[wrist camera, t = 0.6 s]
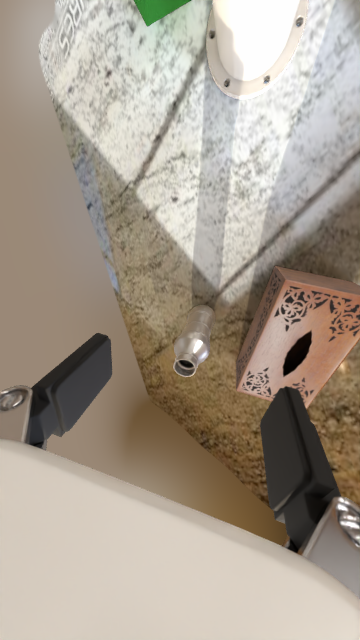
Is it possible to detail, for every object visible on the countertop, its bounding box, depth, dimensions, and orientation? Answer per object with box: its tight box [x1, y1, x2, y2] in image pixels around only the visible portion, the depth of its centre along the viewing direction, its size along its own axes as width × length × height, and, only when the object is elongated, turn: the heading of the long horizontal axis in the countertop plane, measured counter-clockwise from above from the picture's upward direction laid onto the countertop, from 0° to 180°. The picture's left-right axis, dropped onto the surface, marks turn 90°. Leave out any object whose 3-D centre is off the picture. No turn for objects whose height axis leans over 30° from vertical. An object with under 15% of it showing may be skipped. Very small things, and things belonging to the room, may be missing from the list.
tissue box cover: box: [236, 266, 360, 409], centre depth 40 cm, size 26×14×10 cm, turn 171°
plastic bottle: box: [174, 305, 216, 377], centre depth 39 cm, size 6×7×20 cm
